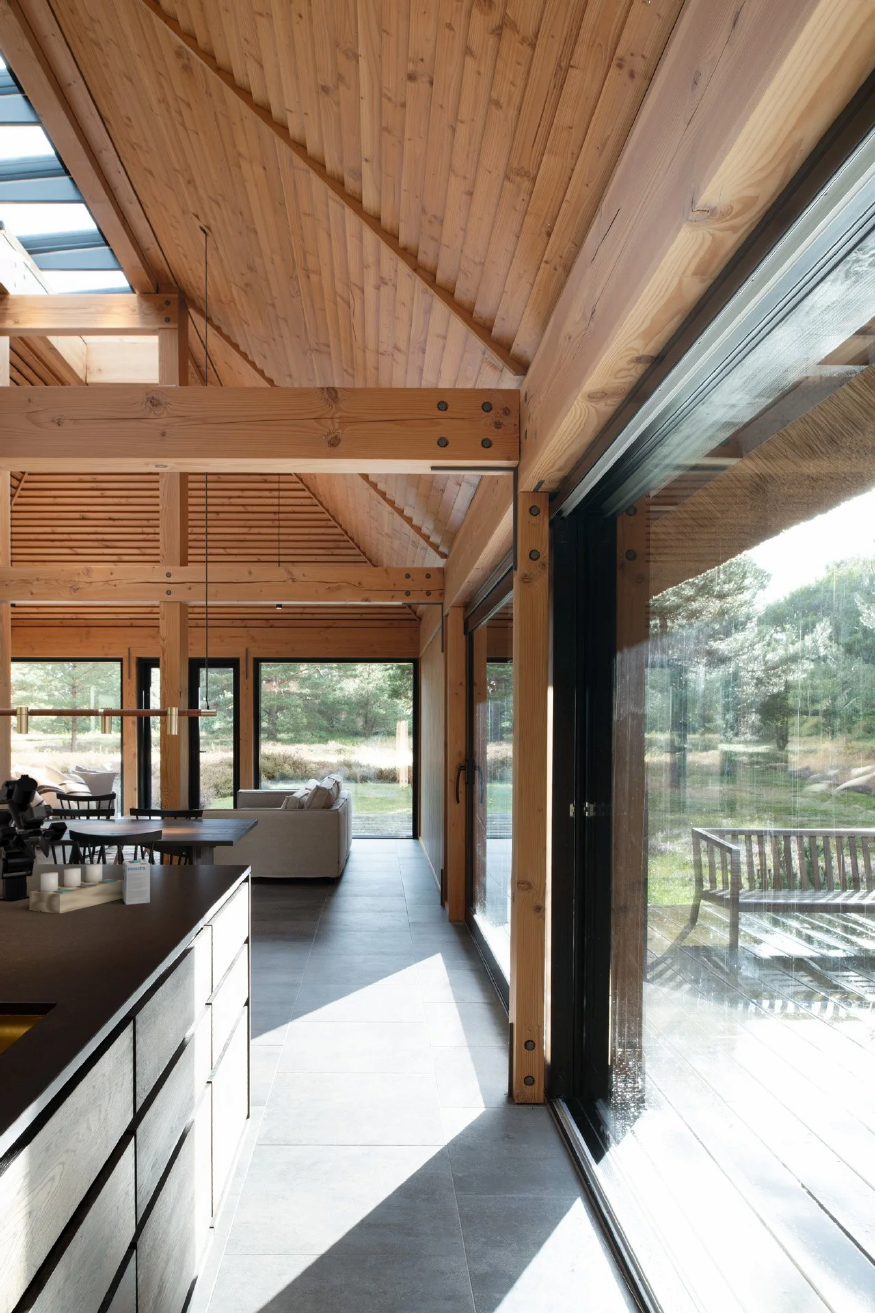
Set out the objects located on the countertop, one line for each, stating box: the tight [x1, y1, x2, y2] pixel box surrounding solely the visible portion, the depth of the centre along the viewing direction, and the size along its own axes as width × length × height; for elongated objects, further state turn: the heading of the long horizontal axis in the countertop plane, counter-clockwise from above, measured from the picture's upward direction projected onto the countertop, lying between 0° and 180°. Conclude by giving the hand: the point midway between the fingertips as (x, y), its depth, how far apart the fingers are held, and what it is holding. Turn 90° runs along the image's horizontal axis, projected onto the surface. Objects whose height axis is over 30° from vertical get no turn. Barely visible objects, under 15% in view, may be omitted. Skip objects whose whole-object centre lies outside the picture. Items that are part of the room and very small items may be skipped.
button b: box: [63, 867, 82, 888], centre depth 261 cm, size 4×4×7 cm
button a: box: [40, 871, 59, 893], centre depth 253 cm, size 4×4×7 cm
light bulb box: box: [122, 859, 151, 906], centre depth 263 cm, size 11×7×11 cm, turn 25°
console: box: [28, 878, 123, 914], centre depth 259 cm, size 12×23×5 cm, turn 154°
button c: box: [85, 863, 103, 883], centre depth 268 cm, size 4×4×7 cm
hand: (41, 857), depth 257 cm, fingers open, 3 cm apart
